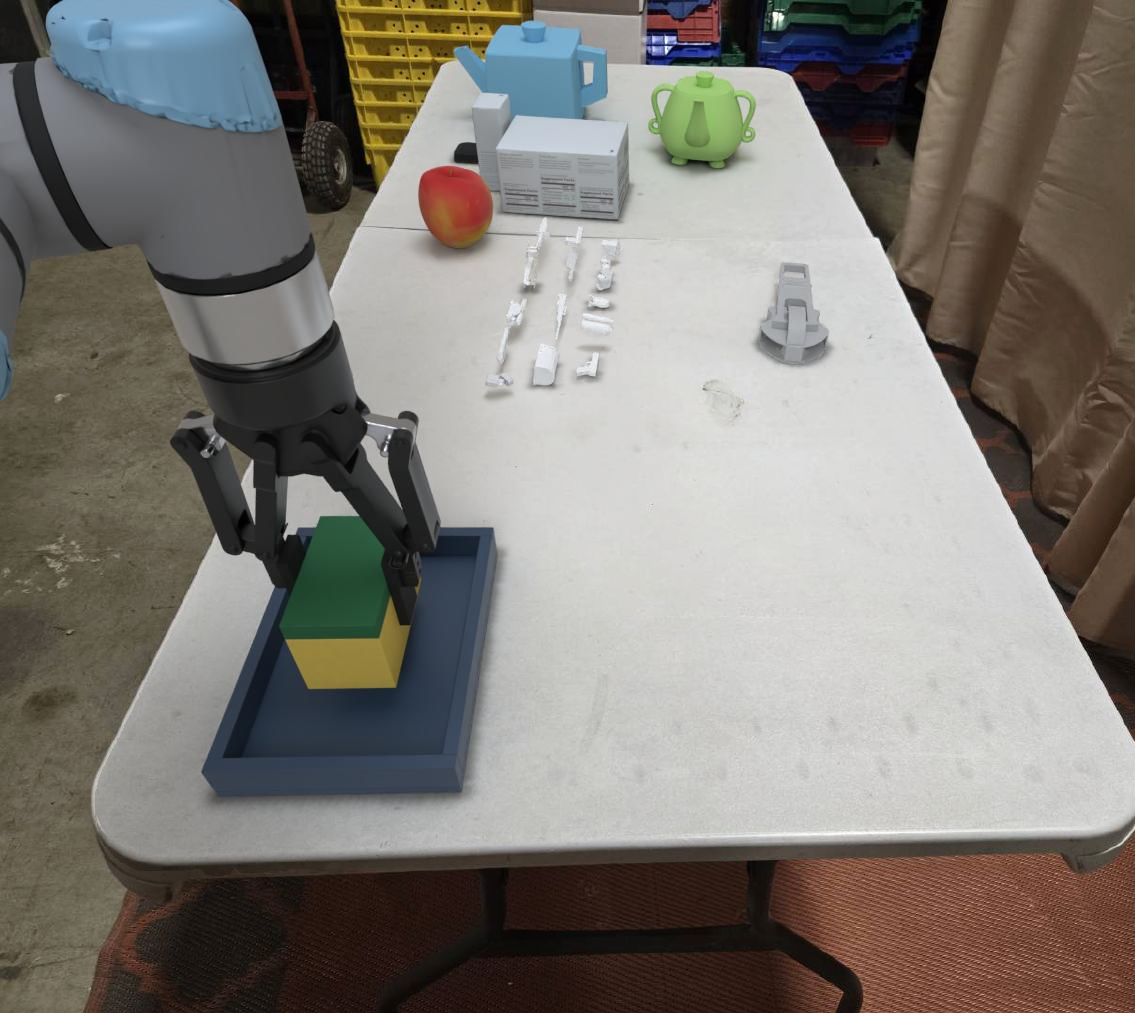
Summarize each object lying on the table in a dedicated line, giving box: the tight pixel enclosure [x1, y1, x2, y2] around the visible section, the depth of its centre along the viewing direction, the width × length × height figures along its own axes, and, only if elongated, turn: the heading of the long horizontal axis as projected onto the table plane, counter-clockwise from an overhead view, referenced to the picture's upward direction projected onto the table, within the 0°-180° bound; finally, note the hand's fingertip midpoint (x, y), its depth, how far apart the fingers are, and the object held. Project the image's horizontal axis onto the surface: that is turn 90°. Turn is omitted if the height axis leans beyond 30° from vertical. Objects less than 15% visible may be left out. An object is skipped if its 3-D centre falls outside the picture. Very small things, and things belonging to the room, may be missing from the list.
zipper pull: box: [757, 261, 830, 365], centre depth 101 cm, size 8×18×4 cm, turn 175°
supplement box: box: [495, 115, 630, 220], centre depth 121 cm, size 17×13×9 cm
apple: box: [417, 165, 494, 249], centre depth 110 cm, size 10×10×10 cm
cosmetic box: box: [471, 92, 511, 192], centre depth 123 cm, size 6×4×12 cm
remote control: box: [453, 141, 479, 164], centre depth 133 cm, size 5×2×15 cm
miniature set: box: [484, 217, 623, 388], centre depth 100 cm, size 6×35×12 cm
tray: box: [200, 526, 498, 798], centre depth 63 cm, size 22×16×3 cm
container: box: [452, 20, 609, 123], centre depth 141 cm, size 17×25×15 cm
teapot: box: [647, 70, 757, 169], centre depth 133 cm, size 16×14×13 cm
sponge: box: [279, 515, 421, 689], centre depth 59 cm, size 10×6×7 cm, turn 2°
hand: (361, 610), depth 60 cm, fingers closed on sponge, 6 cm apart
